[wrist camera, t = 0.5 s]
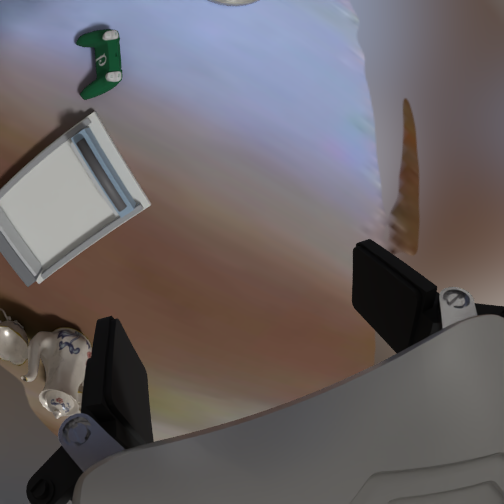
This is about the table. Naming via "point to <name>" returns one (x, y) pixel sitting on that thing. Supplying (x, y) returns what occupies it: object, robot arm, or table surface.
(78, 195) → the vise base
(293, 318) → the table surface
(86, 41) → the gaming controller
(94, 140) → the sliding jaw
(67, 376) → the chinaware
